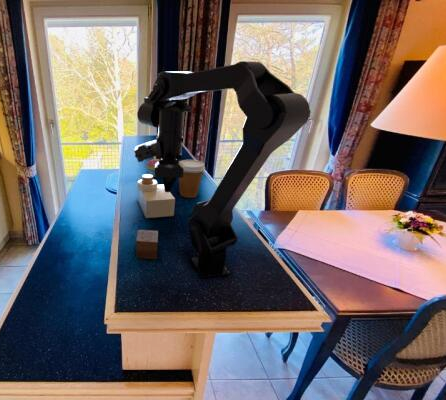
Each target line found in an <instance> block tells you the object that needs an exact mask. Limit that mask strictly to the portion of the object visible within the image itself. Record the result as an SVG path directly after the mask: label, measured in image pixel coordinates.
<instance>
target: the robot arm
mask: <svg viewBox="0 0 446 400" xmlns="http://www.w3.org/2000/svg"><path fill="white" fill-rule="evenodd" d="M227 90H233V91H234V92H235V95H236V99H237V104H238V107H239V109H240V110H241V112H242V113H243V115H244V116H245V120H244V123H243V126H242V143H241V145H240V147H239V149H238V151H237V152H236V154H235V156H234V158H233V160H232V161H231V163H230V165H229V167H228V168H227V170H226V172H225V173H224V174H223V177H222V178H221V180H220V182H219V183H218V186H217V187H216V189H215V190H214V192H213V194H212V196H211V198H209V199H206V200H203V201H200V202H197V203H196V204H194V206H193V209H192V212H191V213H190V214H188V217H189V220H188V228H189V236H190V242H191V247H193V248H194V249H195V252H196V253H197V254H198V255H197V257H192V258H191V262H192V264H193V265H194V268H195V270H196V271H197V272H198V274H199V276H200V277H201V278H202V279H208V278H216V277H224V276H229V275H230V271H229V270H228V269H227V267H226V265H225V263H226V259H227V258H226V257H227V254H228V253H227V248H228V247H231V246H234V245H236V243H237V241H238V240H239V237H238V236H237V234H236V232H235V229H234V228H233V226H232V222H233V220H234V212H233V210H234V208H235V207H236V205H237V204H238V202H239V201H240V199H241V198H242V197H243V195H244V194H245V192H246V191H247V190H248V188H249V186H250V185H251V183H252V182H253V181H254V179H255V177H256V176H257V175H258V174H259V172H260V170H261V169H262V168H263V166H264V164H265V163H266V162H267V160H268V159H269V157H270V156H271V154H273V152H274V151H277V149H278V148H280V147H281V146H282V145H284V144H285V143H286V142H288V141H289V140H290V139H292V137H293V136H294V135H296V133H297V132H299V130H300V129H302V127H304V125H305V124H306V123H307V122H308V120H309V118H310V117H311V116H310V115H311V112H312V111H311V109H310V103H309V101H308V99H307V98H306V96H304V95H302V94H300V93H297V92H294V91H293V89H292V88H291V87H290V86H289V85H288V84H286V82H284V81H282V80H281V79H280V78H278V77H277V76H276V75H274V74H273V73H271V72H270V70H269V69H268V68H267V67H266V66H265V65H264V64H263V63H262V62H260V61H245V60H243V61H238V62H236V63H234V64H229V65H225V66H224V65H223V66H219V67H214V68H208V69H204V70H198V71H160V73H158V74H157V78H156V80H155V82H154V83H153V86H152V88H151V91H150V93H149V94H148V97H144V98H143V101H144V102H142V103H141V104H140V106H139V108H138V110H137V112H136V115H137V116H136V117H137V119H138V121H139V123H140V124H142V125H145V126H149V127H153V128H158V130H157V131H158V132H157V134H156V135H157V136H156V139H154V140H149V141H146V142H143V143H141V144H138V145H136V146H135V147H134V149H133V152H134V157H135V158H136V159H137V162H138V163H142V162H144V161H146V160H149V159H151V158H152V159H153V158H154V156H155V159H159V161H158V162H157V163H156V164H155V177H154V178H162V183H163V184H164V189H165V192H170V193H171V190H172V188H173V186H174V185H175V183H176V181H177V179H179V178H182V177H183V171H184V168H183V164H182V163H181V162H180V161H181V160H182V158H183V157H182V156H183V154H182V151H183V150H182V149H183V142H184V125H185V123H184V122H185V113H191V112H192V110H193V109H192V108H191V107H192V106H190V105H189V104H188V102H187V100H186V99H188V98H191V97H194V96H196V94H199V93H204V92H216V91H227Z"/></svg>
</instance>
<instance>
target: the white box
mask: <svg viewBox="0 0 446 400" xmlns="http://www.w3.org/2000/svg"><path fill="white" fill-rule="evenodd" d="M136 188H137V190H138V203H139V206H140V208H141V211H142V212H143V215H144V217H145V219H151V218H152V219H153V218H154V219H155V218H163V217H164V218H165V217H174V216H175V204H176V198H175V197H174V196H173V194H172V193H171V191H170V192H165V189H164V183H163V184H158V181H157V180H156V179H153V184H149V185H146V184H142V178H141V179H138V181H137V182H136Z"/></svg>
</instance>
